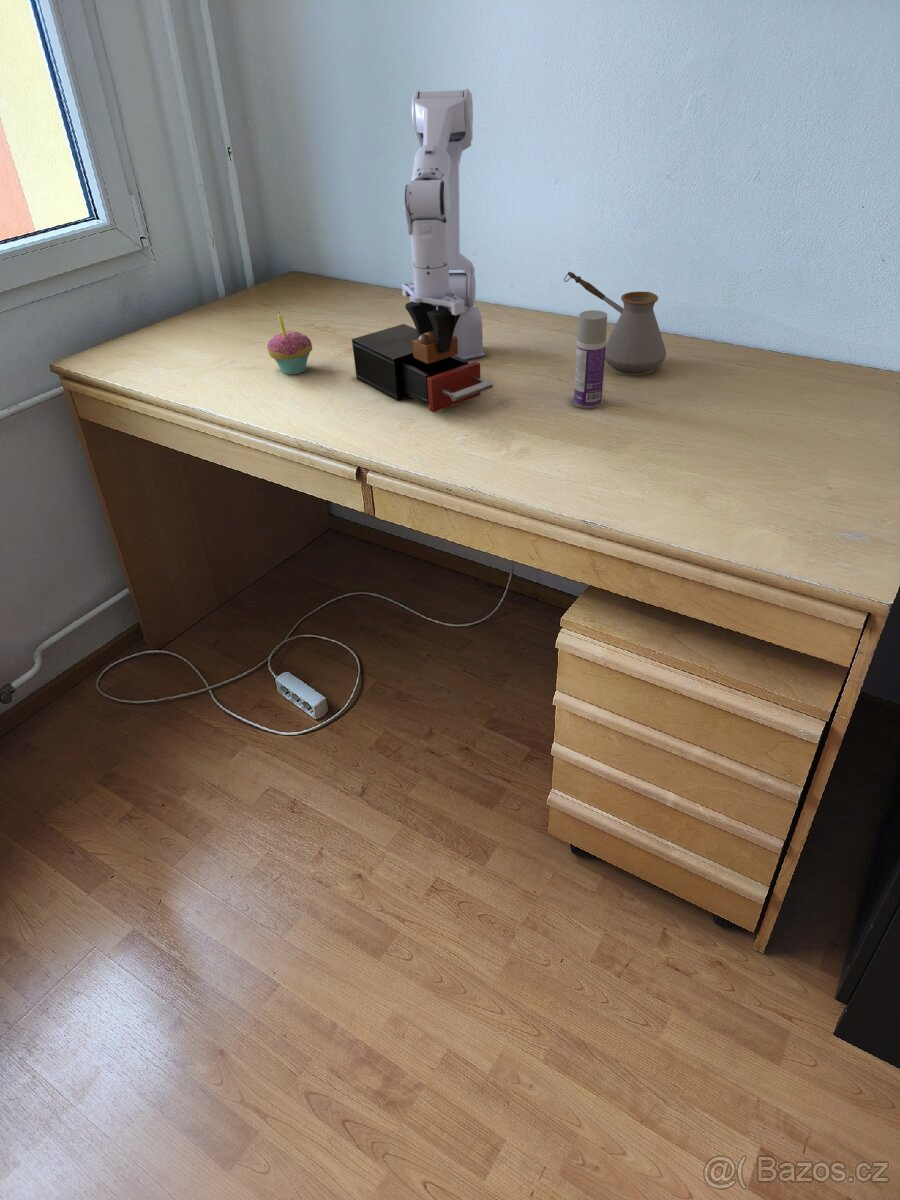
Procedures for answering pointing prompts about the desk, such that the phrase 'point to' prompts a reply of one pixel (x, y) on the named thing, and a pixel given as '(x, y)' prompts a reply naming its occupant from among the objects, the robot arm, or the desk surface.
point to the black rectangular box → (384, 358)
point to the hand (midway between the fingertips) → (435, 347)
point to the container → (590, 359)
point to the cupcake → (290, 350)
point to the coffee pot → (632, 332)
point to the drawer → (441, 381)
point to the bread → (431, 348)
